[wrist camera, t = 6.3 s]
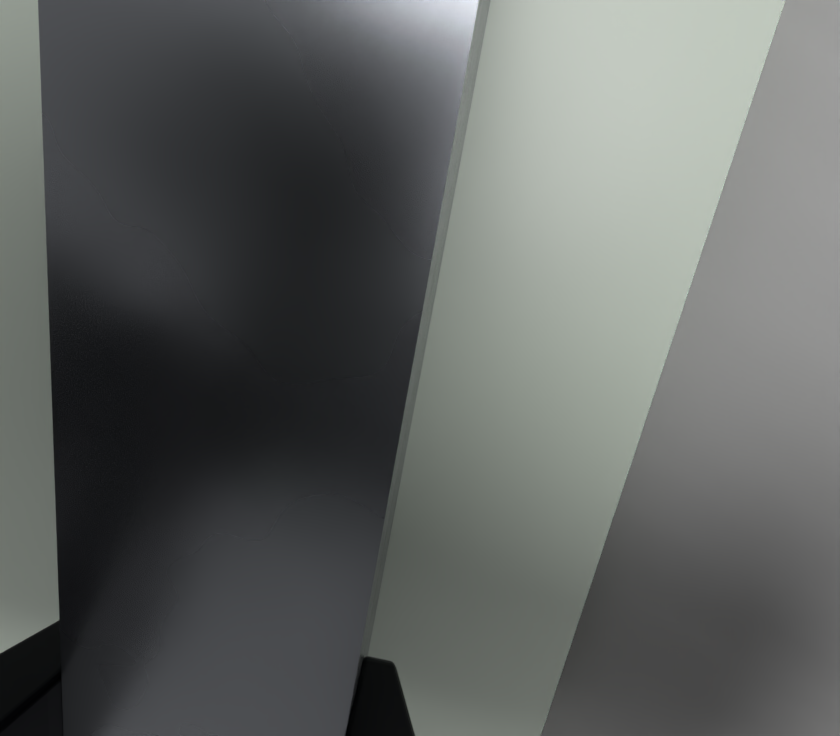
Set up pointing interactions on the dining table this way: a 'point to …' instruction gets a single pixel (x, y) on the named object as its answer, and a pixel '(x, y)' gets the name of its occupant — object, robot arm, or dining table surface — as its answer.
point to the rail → (238, 340)
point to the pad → (472, 334)
